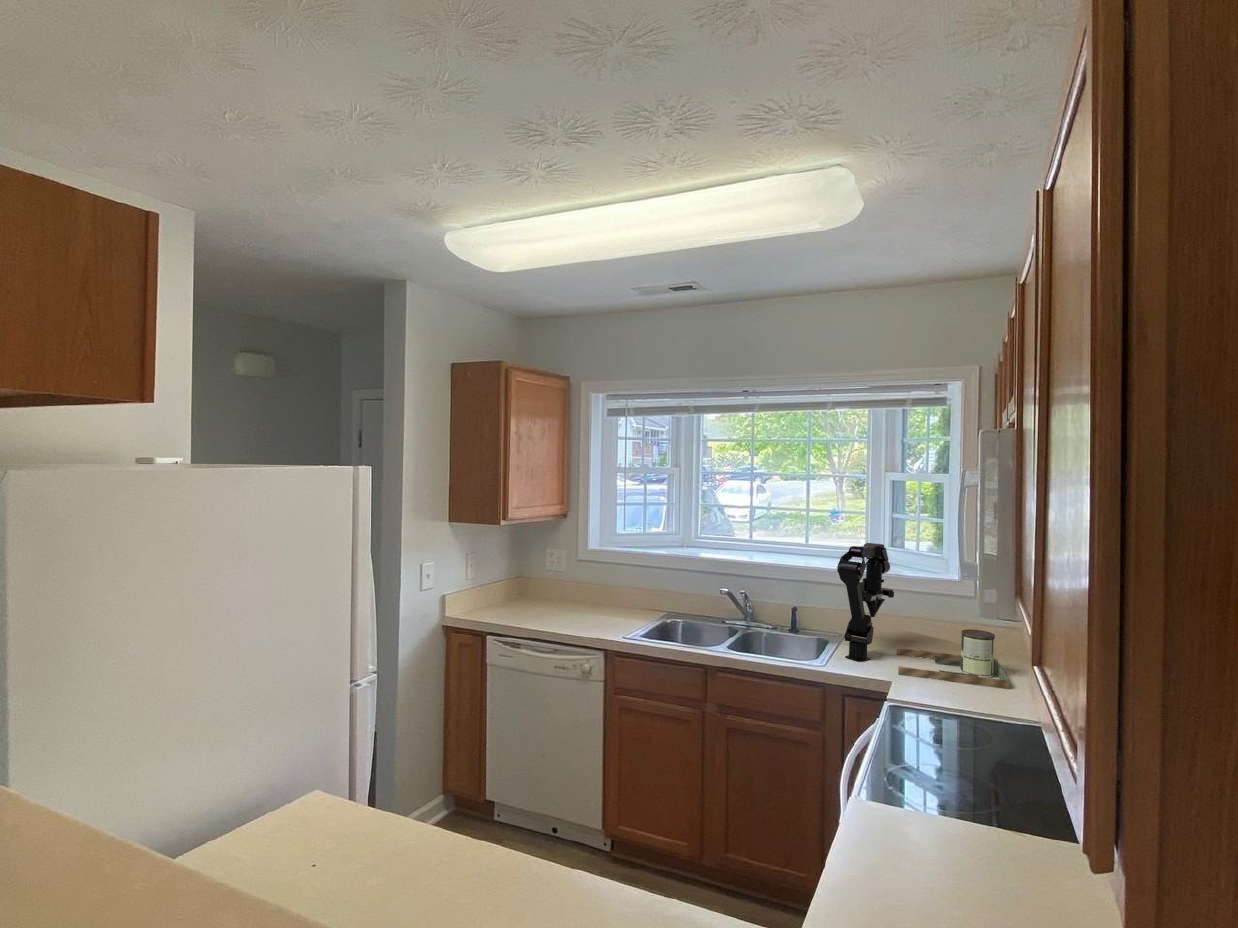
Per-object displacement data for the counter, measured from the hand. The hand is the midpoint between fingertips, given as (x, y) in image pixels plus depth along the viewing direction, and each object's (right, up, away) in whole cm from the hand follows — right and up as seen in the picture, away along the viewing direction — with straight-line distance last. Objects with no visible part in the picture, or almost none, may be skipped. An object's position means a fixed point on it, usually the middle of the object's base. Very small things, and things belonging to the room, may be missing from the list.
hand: (872, 616), depth 261 cm
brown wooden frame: (+18, -14, -22) cm, 32 cm away
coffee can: (+27, -14, -25) cm, 39 cm away
